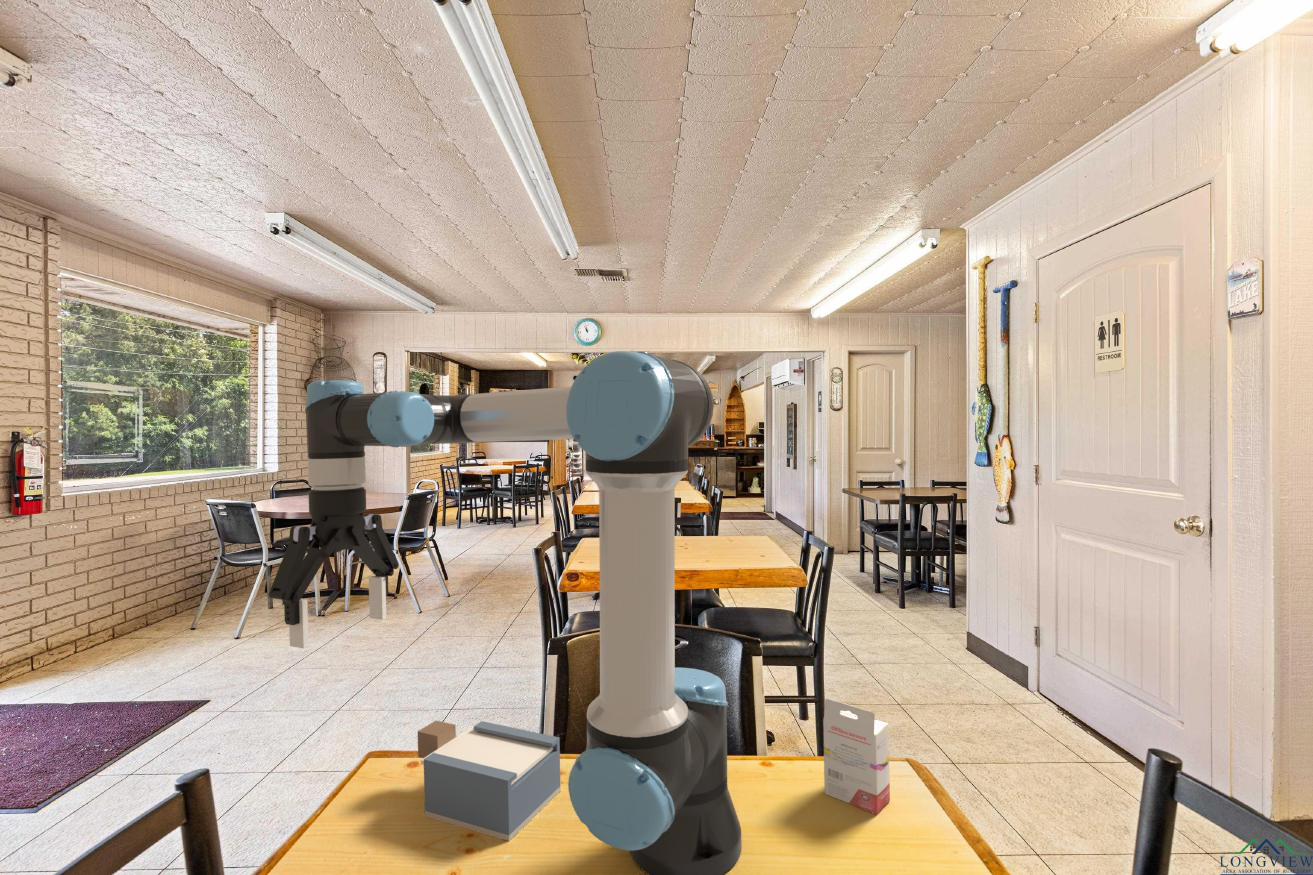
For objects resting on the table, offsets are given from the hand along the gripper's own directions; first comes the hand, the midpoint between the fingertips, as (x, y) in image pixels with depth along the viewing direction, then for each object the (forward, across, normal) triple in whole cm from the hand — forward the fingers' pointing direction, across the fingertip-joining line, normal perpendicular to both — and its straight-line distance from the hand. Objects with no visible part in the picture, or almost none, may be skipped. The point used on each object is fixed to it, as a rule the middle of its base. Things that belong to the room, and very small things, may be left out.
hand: (341, 631), depth 94 cm
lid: (+22, -10, +16) cm, 29 cm away
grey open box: (+27, -10, +19) cm, 35 cm away
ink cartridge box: (+27, -32, +69) cm, 81 cm away
